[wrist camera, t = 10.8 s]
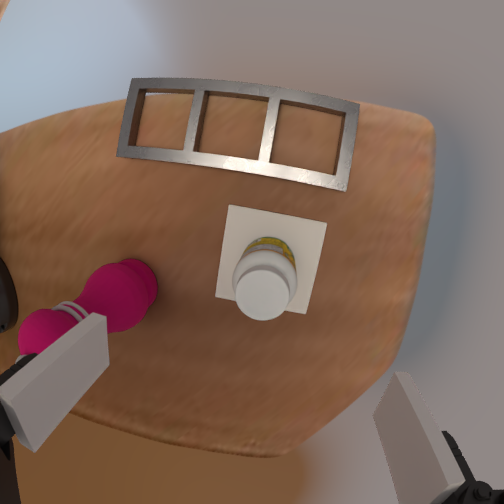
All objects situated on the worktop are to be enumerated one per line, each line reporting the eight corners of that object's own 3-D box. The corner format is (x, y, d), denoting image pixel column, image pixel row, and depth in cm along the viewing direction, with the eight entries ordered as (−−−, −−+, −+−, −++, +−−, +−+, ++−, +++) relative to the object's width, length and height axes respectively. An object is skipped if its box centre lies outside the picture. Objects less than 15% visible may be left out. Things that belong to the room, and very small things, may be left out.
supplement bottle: (245, 232, 30) (228, 254, 21) (298, 239, 30) (305, 264, 21) (240, 282, 32) (222, 322, 22) (290, 289, 31) (292, 333, 22)
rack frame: (124, 157, 30) (116, 156, 29) (138, 82, 28) (131, 78, 27) (342, 191, 29) (346, 191, 27) (355, 108, 27) (359, 104, 25)
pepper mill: (107, 299, 35) (-2, 382, 15) (114, 246, 33) (-18, 307, 14) (156, 320, 34) (62, 429, 15) (167, 265, 33) (51, 357, 13)
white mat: (216, 294, 33) (215, 296, 32) (229, 204, 31) (228, 204, 30) (305, 311, 32) (305, 314, 32) (326, 222, 30) (327, 223, 29)
